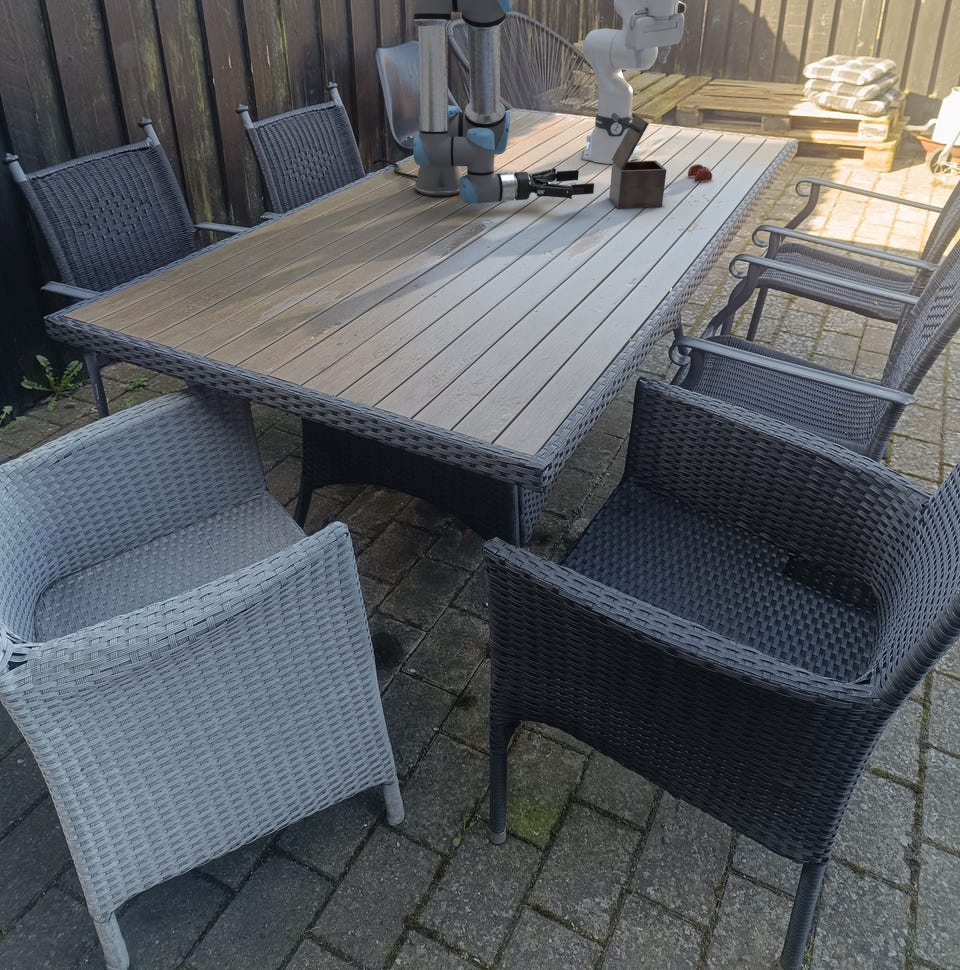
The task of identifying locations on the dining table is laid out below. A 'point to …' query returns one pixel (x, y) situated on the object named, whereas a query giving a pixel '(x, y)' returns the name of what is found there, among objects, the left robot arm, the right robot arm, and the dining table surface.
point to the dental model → (700, 173)
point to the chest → (637, 184)
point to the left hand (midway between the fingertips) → (585, 181)
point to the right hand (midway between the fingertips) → (651, 65)
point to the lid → (628, 139)
